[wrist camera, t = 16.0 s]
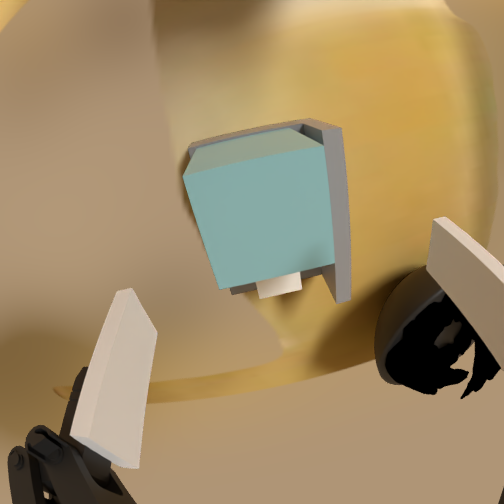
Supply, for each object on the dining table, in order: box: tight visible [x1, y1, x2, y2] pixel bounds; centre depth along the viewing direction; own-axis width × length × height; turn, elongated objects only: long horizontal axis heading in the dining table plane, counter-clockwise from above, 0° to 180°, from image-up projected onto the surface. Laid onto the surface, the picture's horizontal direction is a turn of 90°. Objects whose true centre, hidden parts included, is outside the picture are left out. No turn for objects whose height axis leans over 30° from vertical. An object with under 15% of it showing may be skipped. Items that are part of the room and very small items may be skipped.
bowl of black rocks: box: [374, 265, 501, 399], centre depth 30 cm, size 20×20×19 cm
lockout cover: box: [182, 128, 335, 289], centre depth 21 cm, size 8×8×9 cm
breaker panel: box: [188, 118, 351, 304], centre depth 26 cm, size 16×12×8 cm
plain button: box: [256, 272, 302, 299], centre depth 27 cm, size 4×4×5 cm
